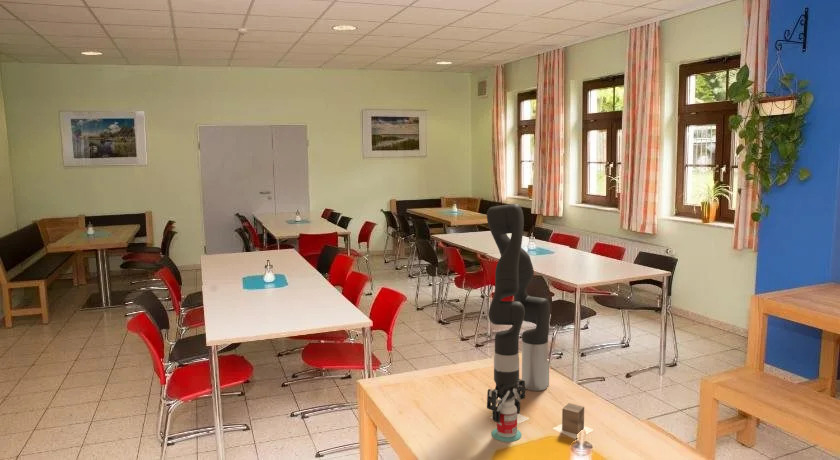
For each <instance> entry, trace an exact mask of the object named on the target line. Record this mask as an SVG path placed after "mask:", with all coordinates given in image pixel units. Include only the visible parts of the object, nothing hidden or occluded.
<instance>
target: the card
mask: <svg viewBox="0 0 840 460" xmlns="http://www.w3.org/2000/svg"><path fill="white" fill-rule="evenodd" d="M552 430H554V431H556V432H557V433H558V432H559V433H560V434H563V435H565V436H568V437H569V438H572V439H573V440H577V439H576V438H577V434H574V433H570V432H567V431H563V430H562V423H560V424H558V425H556V426H555V427H552ZM583 430H585V431H586V435H587V434H589V433H592V432H593V431H594V429H593V428H591V427H589V426H586V425H584V429H583Z"/></svg>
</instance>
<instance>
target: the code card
mask: <svg viewBox="0 0 840 460" xmlns="http://www.w3.org/2000/svg"><path fill="white" fill-rule="evenodd" d="M489 418H490V419H492V416H490V417H489ZM527 420H530V417H527V416H525V415H522V414H521V413H519V414H517V425H518V424H521V423H523V422H525V421H527Z"/></svg>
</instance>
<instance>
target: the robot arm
mask: <svg viewBox="0 0 840 460" xmlns="http://www.w3.org/2000/svg"><path fill="white" fill-rule="evenodd" d="M524 218H525V217H524V211H523V209H522V207H521V205H520V204H518V203H509V204H503V205H495V206H491V207H489V208H488V209H487V212H486V220H487V225H488V228H489V231H490V232H491V233H490V234H491V236H492V238H493V240H494V242H495V244H496V247H497V249H498V252H499V254H500V257H499V259H498V261H497V264H496V265H495V266H496V267H495V273H494V275H495V276H494V278H495V279H494V292H493V295H492V300H491V303H490V306H489V309H488V314H487V315H488V318H489V319H488V320H489V321H490V323H491V324H493V325H495V326H511V327H510V328H509V329H506V330H501V331H498V332H496V333H495V334H494V357H493V380H494V383H495V388H494V389H490V388H489V389H488V390H487V395H486V409H488V410H490V411H492V413H491V415H492V416H491V417H492V418H491V419H492V421H493V422H494V423H496V424H497V423H499V422H500V411H499V410H500V408H501V406H502V405H503V404H504V403H505V401H506V400H508V399H511V398H512V397H513V398H514V399H515V404H514V405H515V406H516V407H517V414H521V413H520V412H521V403H522V400H525V399H526V390H528V391H534V392H537V391H538V392H540V391H544V390H546V389H547V388H548V386H550V360H549V359H548V357H549V356H548V353H549V352H548V351H549V333H550V317H551V316H550V315H551V305H550V301H549V299H547V298H545V297H537V296H531V295H529V294H528V292H527V289H528V287H529V285H530V283H531V282H532V280H533V277H534V274H535V272H534V267H533V261H532V260H531V257H530V255H529V254H528V252H527V251H526V250H525V249H524V248H522V243H523V235H524V227H525V224H524V223H525V219H524ZM508 234H511V235H510V237H509V236H508ZM512 296H513V299H514V301H513V300H512V301H509V300H503V299H505V298H508V297H512ZM524 322H526V323H533V324H536V326H535V327H534V328H531V329H526V330H524V331H523V332H522V334H521V378H520V355H519V352H520V351H519V346H520V345H519V344H520V343H519V341H520V339H519V338H520V333H521V332H520V331H521V329H522V325H523V323H524ZM499 398H500V399H502V400H499Z"/></svg>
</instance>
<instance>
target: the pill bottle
mask: <svg viewBox="0 0 840 460" xmlns="http://www.w3.org/2000/svg"><path fill="white" fill-rule="evenodd" d="M498 400H502V399H500V398H499V397H498ZM514 404H515V399H514V398H513V397H512V398H511V399H508V400H506V401H505V403H504V404H503V405H502V406H501V408H500V410H499V411H500V422H499V423H497V422H496V428H497V433H498V435H500V436H501V437H506V438H509V437H514V436H515V435H516V434H517V430H518V424H517V407H516V406H515V405H514Z"/></svg>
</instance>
